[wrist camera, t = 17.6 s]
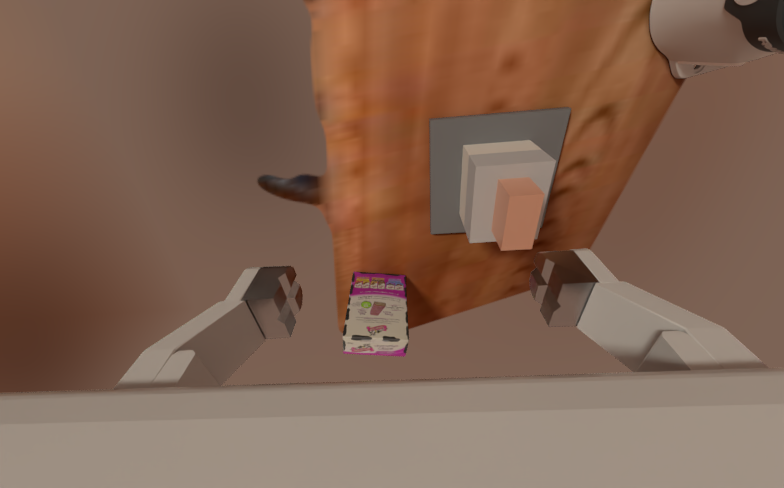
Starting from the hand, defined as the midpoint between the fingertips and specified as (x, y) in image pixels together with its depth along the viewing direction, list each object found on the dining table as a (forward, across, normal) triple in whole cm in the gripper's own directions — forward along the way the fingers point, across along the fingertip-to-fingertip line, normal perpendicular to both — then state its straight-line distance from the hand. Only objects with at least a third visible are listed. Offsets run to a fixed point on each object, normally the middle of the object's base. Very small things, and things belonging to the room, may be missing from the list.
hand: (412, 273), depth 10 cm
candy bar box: (+39, +7, +36) cm, 54 cm away
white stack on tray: (+39, -14, +14) cm, 44 cm away
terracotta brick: (+29, -14, +14) cm, 35 cm away
